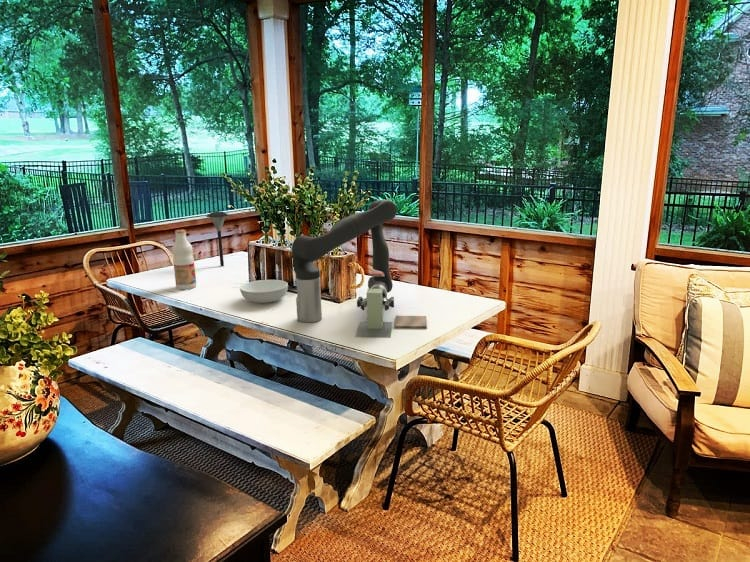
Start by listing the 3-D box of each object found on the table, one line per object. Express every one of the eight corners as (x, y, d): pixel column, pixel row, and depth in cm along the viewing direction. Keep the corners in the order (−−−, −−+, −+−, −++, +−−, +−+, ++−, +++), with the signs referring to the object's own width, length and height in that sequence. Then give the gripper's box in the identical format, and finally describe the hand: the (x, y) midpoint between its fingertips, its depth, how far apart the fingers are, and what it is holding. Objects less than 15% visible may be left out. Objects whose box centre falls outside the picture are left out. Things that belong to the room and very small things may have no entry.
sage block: (367, 328, 213) (366, 292, 210) (368, 323, 219) (367, 288, 215) (381, 328, 213) (381, 292, 209) (382, 323, 218) (382, 288, 215)
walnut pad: (394, 328, 213) (394, 326, 213) (395, 318, 225) (395, 315, 225) (426, 328, 212) (426, 326, 212) (426, 318, 224) (426, 315, 224)
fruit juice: (173, 287, 275) (167, 230, 268) (192, 283, 281) (187, 227, 273) (179, 291, 268) (173, 232, 261) (199, 287, 273) (193, 230, 266)
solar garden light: (216, 269, 307) (211, 214, 299) (207, 266, 316) (201, 212, 308) (237, 266, 315) (232, 212, 307) (227, 262, 324) (222, 210, 316)
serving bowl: (267, 291, 266) (266, 276, 264) (298, 298, 253) (297, 284, 251) (231, 301, 250) (229, 286, 249) (262, 310, 237) (260, 294, 236)
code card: (354, 337, 205) (354, 337, 205) (359, 321, 221) (359, 321, 221) (390, 338, 204) (390, 337, 204) (392, 322, 220) (392, 321, 220)
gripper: (359, 286, 227) (355, 298, 212) (395, 286, 226) (393, 298, 211) (360, 304, 229) (355, 317, 214) (395, 304, 228) (393, 317, 213)
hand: (374, 307), depth 212 cm, fingers open, 8 cm apart
